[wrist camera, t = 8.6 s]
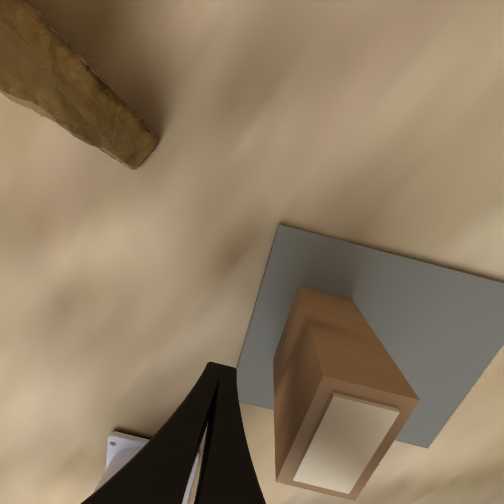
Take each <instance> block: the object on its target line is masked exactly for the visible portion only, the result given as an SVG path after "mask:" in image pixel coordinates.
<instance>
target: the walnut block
mask: <svg viewBox="0 0 504 504" xmlns="http://www.w3.org/2000/svg"><path fill="white" fill-rule="evenodd" d="M273 385H274V425H275V466H276V482H280V483H284V484H288V485H292V486H296V487H300V488H304V489H308V490H312V491H316V492H320V493H324V494H328V495H332V496H337V497H341V498H345V499H349V500H353V501H355V500H356V498H357V497H358V495H359V494H360V492H361V491H362V489H363V488H364V486H365V485H366V483H367V481H368V480H369V478H370V477H371V475H372V474H373V472H374V471H375V469H376V468H377V466H378V465H379V463H380V461H381V460H382V458H383V457H384V455H385V454H386V452H387V451H388V449H389V448H390V446H391V444H392V443H393V441H394V440H395V438H396V437H397V435H398V434H399V432H400V431H401V429H402V428H403V426H404V424H405V423H406V421H407V420H408V418H409V417H410V415H411V414H412V412H413V411H414V409H415V408H416V406H417V404H418V403H419V401H420V399H419V398H418V396H417V395H416V393H415V392H414V390H413V389H412V387H411V386H410V384H409V383H408V381H407V380H406V378H405V377H404V375H403V374H402V372H401V371H400V370H399V368H398V367H397V365H396V364H395V362H394V361H393V359H392V358H391V356H390V355H389V353H388V352H387V350H386V349H385V347H384V346H383V344H382V343H381V341H380V340H379V338H378V337H377V336H376V334H375V333H374V331H373V330H372V328H371V327H370V325H369V324H368V322H367V321H366V319H365V318H364V316H363V315H362V313H361V312H360V310H359V309H358V307H357V306H356V304H355V303H354V302H353V300H351V299H348V298H344V297H340V296H336V295H332V294H328V293H324V292H320V291H317V290H313V289H309V288H305V287H301V286H299V287H298V289H297V292H296V295H295V298H294V301H293V304H292V307H291V309H290V312H289V315H288V318H287V321H286V324H285V327H284V329H283V332H282V335H281V338H280V341H279V344H278V347H277V349H276V352H275V355H274V358H273Z"/></svg>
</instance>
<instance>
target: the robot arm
mask: <svg viewBox="0 0 504 504" xmlns="http://www.w3.org/2000/svg"><path fill="white" fill-rule="evenodd" d="M207 423H208V426H207ZM206 426H207V432H206V438H205V444H204V450H203V456H202V462H201V469H200V475H199V481H198V486H197V491H196V496H195V501H194V504H266V502H265V500H264V497H263V494H262V491H261V488H260V486H259V483H258V480H257V476H256V473H255V470H254V467H253V463H252V460H251V456H250V453H249V449H248V445H247V441H246V437H245V432H244V428H243V423H242V418H241V412H240V406H239V399H238V390H237V370H236V368H234V367H230V366H226V365H222V364H218V363H214V362H208V363H207V365H206V367H205V369H204V371H203V373H202V375H201V376H200V378H199V379H198V381H197V383H196V384H195V386H194V387H193V388H192V390H191V391H190V393H189V394H188V395H187V397H186V398H185V400H184V401H183V402H182V404H181V405H180V406H179V407H178V408H177V410H176V411H175V412H174V413H173V415H172V416H171V417H170V418H169V420H168V421H167V422H166V423H165V424H164V425H163V426H162V428H161V429H160V430H159V431H158V432H157V433H156V434H155V435H154V436H153V437H152V438H151V440H149V439H145V438H141V437H137V436H133V435H129V434H124V433H120V432H116V431H114V432H111V433H110V435H109V436H108V444H107V457H106V470H105V473H104V474H103V476H102V478H101V480H100V482H99V484H98V485H97V487H96V489H95V491H94V493H93V494H92V495H91V496H90V497H88V498H87V499H86V500H85V501H84V502H82V503H81V504H187V501H188V498H189V494H190V490H191V487H192V483H193V479H194V475H195V472H196V468H197V464H198V460H199V453H198V451H199V448H200V445H201V442H202V438H203V435H204V432H205V429H206Z"/></svg>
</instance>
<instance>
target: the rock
mask: <svg viewBox="0 0 504 504" xmlns="http://www.w3.org/2000/svg"><path fill="white" fill-rule="evenodd" d="M0 92H1V93H3V94H4V95H5V96H6V97H8V98H9V99H10V100H11V101H13V102H15V103H17V104H20V105H22V106H25V107H28V108H30V109H33V110H34V111H35V112H37V113H38V114H40V115H42V116H45V117H47V118H49V119H51V120H52V121H54V122H56V123H58V124H59V125H60V126H62V127H63V128H64V129H66V130H67V131H68V132H70V133H71V134H72V135H73V136H75V137H76V138H78V139H80V140H82V141H84V142H86V143H87V144H89V145H91V146H96V147H97V148H99V149H100V150H101V151H103V152H105V153H107V154H108V155H110V156H111V157H112V158H114V159H116V160H118V161H119V162H120V163H122V164H123V165H124V166H127V167H129V168H130V169H132V170H135V169H137V168H138V167H139V166H140V164H141V163H142V162H143V161H144V159H145V158H146V157H147V156H148V155H149V154H150V153H151V152H152V151H153V149H154V147H155V146H156V145H157V141H158V138H157V136H156V135H155V134H154V133H153V131H152V130H151V129H150V128H149V127H148V126H146V125H145V124H144V121H143V119H142V118H141V117H140V116H139V115H138V114H137V113H136V112H135V111H134V110H133V109H132V108H131V107H130V106H129V105H128V104H127V103H126V102H125V101H124V100H123V99H122V98H121V97H120V96H119V95H118V94H117V93H116V92H115V91H114V90H113V89H112V88H111V87H110V86H109V85H108V84H107V83H105V82H104V80H103V79H102V78H101V77H100V76H99V75H98V74H97V73H96V72H95V71H94V70H93V69H92V68H91V66H90V65H89V64H88V63H87V62H86V61H85V60H84V59H83V58H82V57H81V56H80V55H79V54H78V53H77V52H76V51H75V50H74V49H73V48H72V47H71V46H70V45H69V44H68V43H67V42H66V41H65V40H64V39H63V38H62V37H61V36H60V35H59V34H58V33H57V32H56V31H55V30H54V29H53V28H52V27H51V26H50V25H49V24H48V22H47V21H46V20H45V19H44V17H43V16H42V15H41V14H40V13H39V12H38V11H37V10H36V9H35V8H34V7H33V5H32V4H31V3H30V2H29V1H28V0H0Z"/></svg>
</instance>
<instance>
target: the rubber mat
mask: <svg viewBox="0 0 504 504" xmlns="http://www.w3.org/2000/svg"><path fill="white" fill-rule="evenodd" d="M299 286H301V287H305V288H309V289H313V290H317V291H320V292H324V293H328V294H332V295H336V296H340V297H344V298H348V299H351V300H353V302H354V303H355V304H356V306H357V307H358V309H359V310H360V312H361V313H362V315H363V316H364V318H365V319H366V321H367V322H368V324H369V325H370V327H371V328H372V330H373V331H374V333H375V334H376V336H377V337H378V338H379V340H380V341H381V343H382V344H383V346H384V347H385V349H386V350H387V352H388V353H389V355H390V356H391V358H392V359H393V361H394V362H395V364H396V365H397V367H398V368H399V370H400V371H401V372H402V374H403V375H404V377H405V378H406V380H407V381H408V383H409V384H410V386H411V387H412V389H413V390H414V392H415V393H416V395H417V396H418V398H419V399H420V401H419V403H418V404H417V406H416V408H415V409H414V411H413V412H412V414H411V415H410V417H409V418H408V420H407V421H406V423H405V424H404V426H403V428H402V429H401V431H400V432H399V434H398V435H397V437H396V438H395V440H396V441H400V442H404V443H408V444H412V445H416V446H420V447H424V448H428V447H429V446H430V445H431V443H432V442H433V441H434V439H435V438H436V436H437V435H438V434H439V432H440V431H441V430H442V428H443V427H444V426H445V424H446V423H447V421H448V420H449V419H450V417H451V416H452V415H453V413H454V412H455V410H456V409H457V408H458V406H459V405H460V404H461V402H462V401H463V399H464V398H465V397H466V395H467V394H468V393H469V391H470V390H471V388H472V387H473V386H474V384H475V383H476V382H477V380H478V379H479V377H480V376H481V375H482V373H483V372H484V371H485V369H486V368H487V367H488V365H489V364H490V362H491V361H492V360H493V358H494V357H495V356H496V354H497V353H498V351H499V350H500V349H501V347H502V346H503V345H504V282H501V281H497V280H493V279H489V278H485V277H482V276H478V275H474V274H470V273H466V272H462V271H459V270H455V269H451V268H447V267H443V266H440V265H436V264H432V263H428V262H424V261H420V260H417V259H413V258H409V257H405V256H401V255H397V254H394V253H390V252H386V251H382V250H378V249H375V248H371V247H367V246H363V245H359V244H355V243H352V242H348V241H344V240H340V239H336V238H333V237H329V236H325V235H321V234H317V233H313V232H310V231H306V230H302V229H298V228H294V227H290V226H287V225H283V224H279V225H278V229H277V232H276V236H275V239H274V242H273V246H272V249H271V253H270V256H269V260H268V263H267V266H266V270H265V273H264V277H263V280H262V284H261V287H260V290H259V294H258V297H257V301H256V304H255V308H254V311H253V314H252V318H251V321H250V325H249V328H248V332H247V335H246V338H245V342H244V345H243V349H242V352H241V356H240V359H239V362H238V366H237V369H236V370H237V390H238V399H239V401H240V402H244V403H248V404H252V405H256V406H260V407H264V408H268V409H272V410H274V385H273V358H274V355H275V352H276V349H277V347H278V344H279V341H280V338H281V335H282V332H283V329H284V327H285V324H286V321H287V318H288V315H289V312H290V309H291V307H292V304H293V301H294V298H295V295H296V292H297V289H298V287H299Z"/></svg>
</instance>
